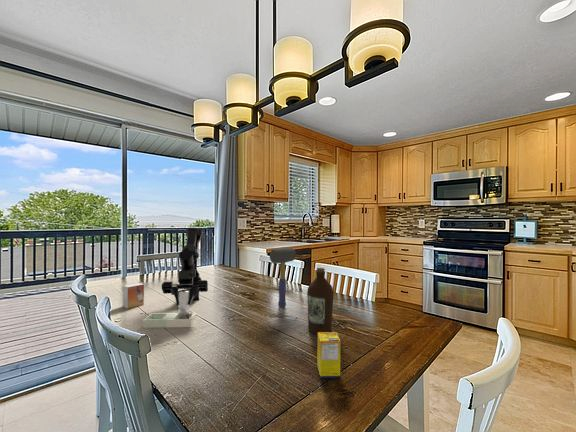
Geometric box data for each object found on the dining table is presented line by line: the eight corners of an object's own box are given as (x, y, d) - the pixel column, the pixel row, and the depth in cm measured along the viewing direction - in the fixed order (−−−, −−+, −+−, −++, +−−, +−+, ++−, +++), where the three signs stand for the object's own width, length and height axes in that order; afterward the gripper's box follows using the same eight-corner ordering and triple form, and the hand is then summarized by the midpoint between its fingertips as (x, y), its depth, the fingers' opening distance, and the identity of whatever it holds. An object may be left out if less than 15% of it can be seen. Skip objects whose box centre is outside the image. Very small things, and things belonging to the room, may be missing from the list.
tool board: (142, 327, 111) (142, 320, 111) (151, 319, 119) (151, 312, 119) (190, 327, 112) (190, 319, 112) (196, 319, 120) (196, 312, 120)
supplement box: (336, 367, 84) (336, 331, 84) (340, 378, 78) (341, 340, 78) (316, 367, 84) (317, 331, 84) (319, 379, 78) (320, 340, 78)
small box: (127, 309, 132) (127, 287, 132) (122, 306, 135) (122, 285, 135) (144, 304, 138) (144, 284, 138) (139, 302, 141) (139, 282, 141)
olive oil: (313, 322, 118) (314, 265, 118) (336, 328, 113) (337, 267, 113) (302, 331, 109) (303, 269, 109) (327, 338, 104) (328, 272, 103)
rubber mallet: (277, 312, 130) (277, 249, 130) (267, 308, 135) (268, 247, 135) (296, 307, 138) (297, 247, 138) (286, 303, 144) (287, 246, 143)
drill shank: (186, 316, 119) (187, 289, 119) (190, 319, 116) (191, 291, 116) (176, 319, 116) (176, 290, 116) (180, 322, 113) (180, 293, 113)
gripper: (162, 263, 117) (156, 296, 107) (207, 262, 121) (205, 294, 111) (166, 277, 125) (160, 309, 114) (208, 275, 129) (206, 306, 119)
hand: (183, 304), depth 114 cm, fingers closed on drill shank, 4 cm apart
